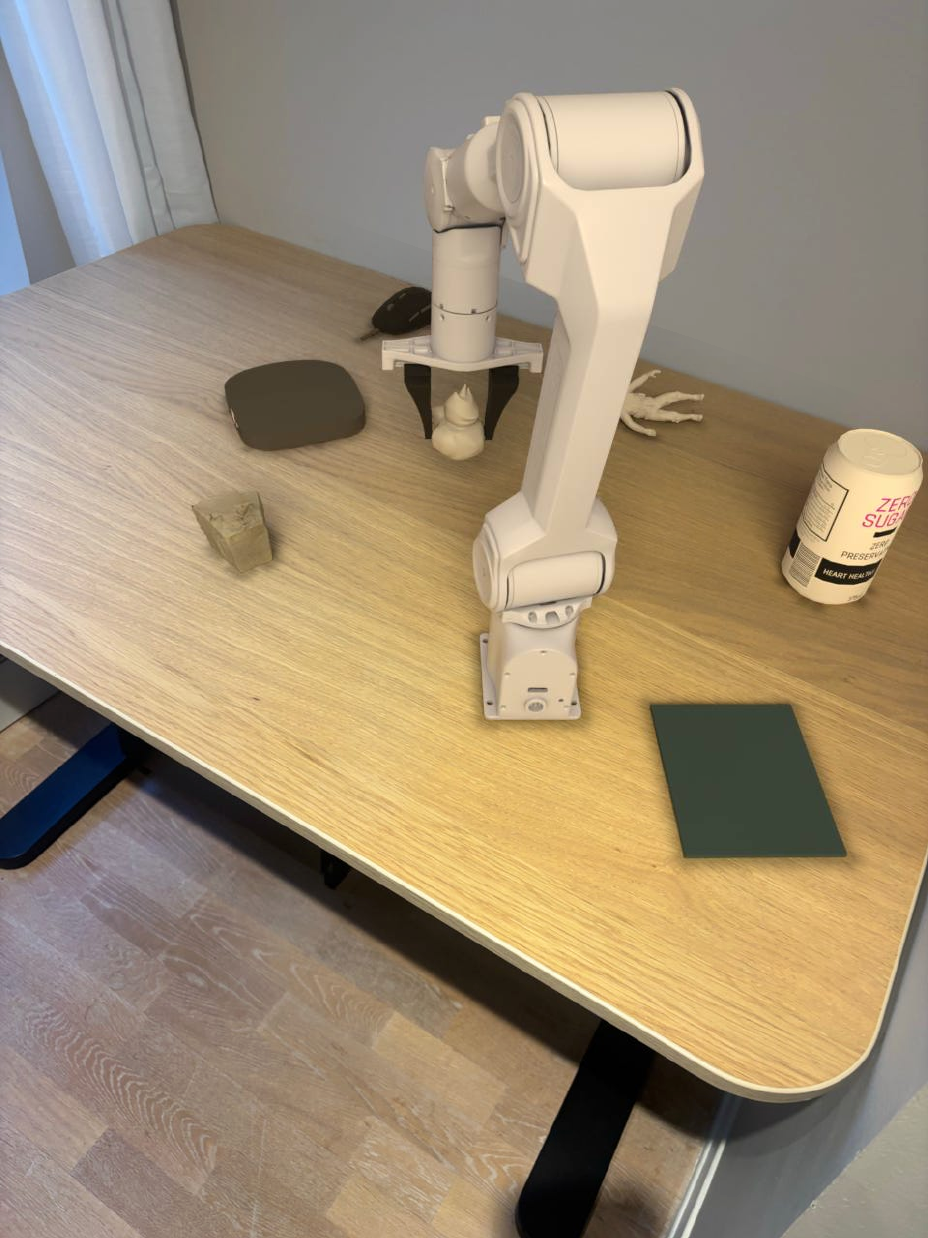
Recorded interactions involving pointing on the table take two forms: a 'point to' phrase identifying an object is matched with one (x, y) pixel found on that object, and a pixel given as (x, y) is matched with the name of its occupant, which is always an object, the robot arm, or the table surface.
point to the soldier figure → (653, 406)
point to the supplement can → (852, 515)
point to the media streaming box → (294, 404)
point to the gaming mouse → (403, 312)
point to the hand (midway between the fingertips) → (458, 434)
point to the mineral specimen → (236, 528)
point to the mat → (743, 783)
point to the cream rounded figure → (458, 426)
